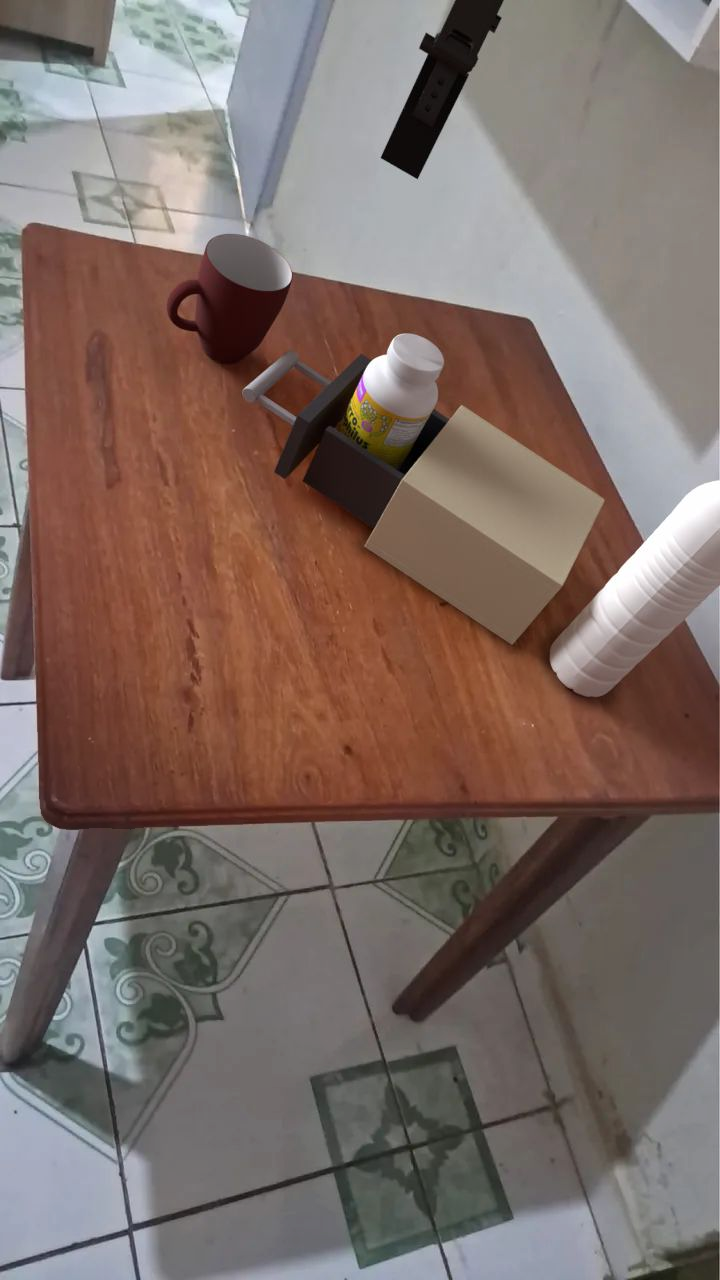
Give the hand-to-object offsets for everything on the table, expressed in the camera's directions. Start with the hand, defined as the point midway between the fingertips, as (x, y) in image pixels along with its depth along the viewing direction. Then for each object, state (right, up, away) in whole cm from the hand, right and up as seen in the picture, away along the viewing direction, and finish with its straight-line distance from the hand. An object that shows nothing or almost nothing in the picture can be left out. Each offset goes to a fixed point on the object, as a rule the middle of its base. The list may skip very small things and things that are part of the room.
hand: (413, 138), depth 66 cm
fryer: (+6, -27, +22) cm, 35 cm away
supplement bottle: (-4, -19, +21) cm, 28 cm away
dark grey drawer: (-5, -19, +21) cm, 29 cm away
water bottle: (+16, -38, +18) cm, 46 cm away
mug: (-18, -7, +25) cm, 32 cm away
